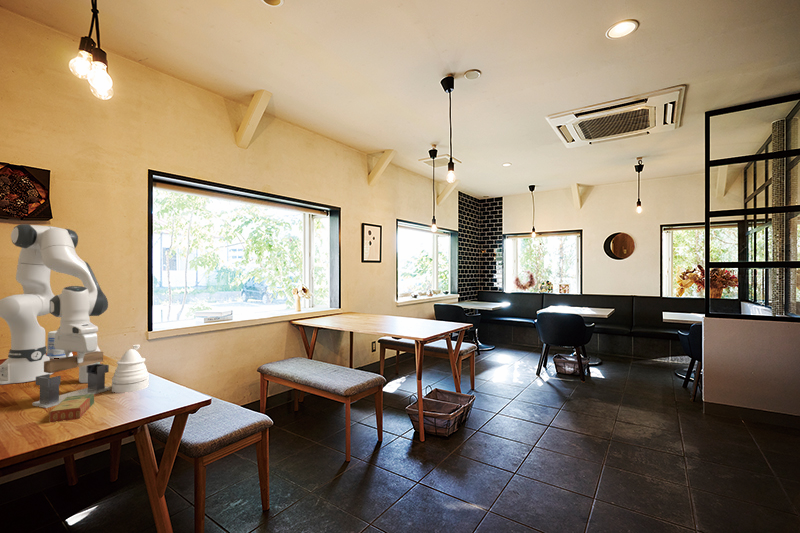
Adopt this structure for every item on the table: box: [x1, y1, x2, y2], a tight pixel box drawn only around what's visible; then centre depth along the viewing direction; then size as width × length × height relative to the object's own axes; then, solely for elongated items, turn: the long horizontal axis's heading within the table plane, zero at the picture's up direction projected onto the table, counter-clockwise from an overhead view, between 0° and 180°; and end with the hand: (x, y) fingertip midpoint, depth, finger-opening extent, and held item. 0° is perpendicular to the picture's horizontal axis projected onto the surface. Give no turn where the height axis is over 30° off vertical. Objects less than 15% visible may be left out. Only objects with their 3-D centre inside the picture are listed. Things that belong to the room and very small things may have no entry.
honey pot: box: [111, 344, 150, 394], centre depth 158 cm, size 13×13×18 cm
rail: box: [44, 350, 104, 374], centre depth 146 cm, size 4×18×4 cm, turn 161°
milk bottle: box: [78, 344, 102, 384], centre depth 167 cm, size 8×8×20 cm
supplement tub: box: [46, 330, 66, 360], centre depth 208 cm, size 10×10×15 cm
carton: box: [48, 394, 95, 423], centre depth 131 cm, size 8×16×4 cm, turn 27°
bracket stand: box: [32, 363, 111, 409], centre depth 146 cm, size 8×22×10 cm, turn 161°
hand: (74, 362), depth 146 cm, fingers closed on rail, 4 cm apart
